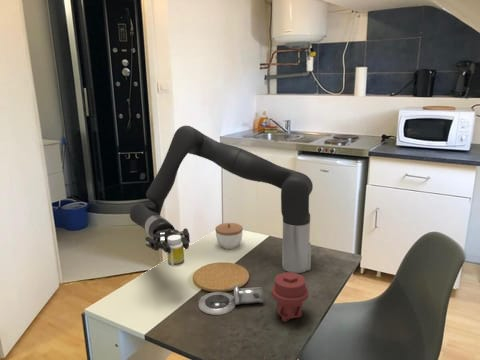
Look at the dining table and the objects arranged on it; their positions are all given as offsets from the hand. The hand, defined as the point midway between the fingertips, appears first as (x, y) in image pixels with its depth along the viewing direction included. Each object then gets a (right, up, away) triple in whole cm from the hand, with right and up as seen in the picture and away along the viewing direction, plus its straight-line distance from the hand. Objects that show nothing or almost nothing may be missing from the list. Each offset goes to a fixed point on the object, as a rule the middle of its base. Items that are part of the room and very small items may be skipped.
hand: (178, 248), depth 112 cm
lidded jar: (+14, -7, +43) cm, 45 cm away
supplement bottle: (-1, -5, +4) cm, 7 cm away
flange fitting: (+15, -17, +3) cm, 23 cm away
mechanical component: (+32, -19, -3) cm, 37 cm away
